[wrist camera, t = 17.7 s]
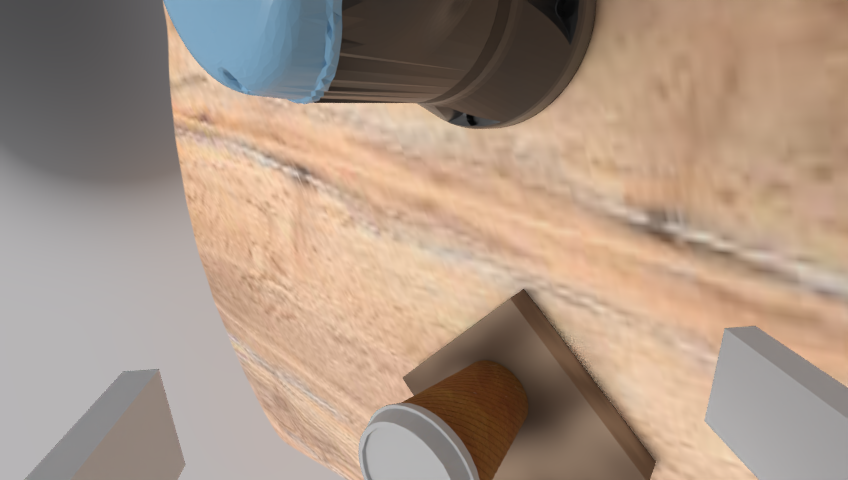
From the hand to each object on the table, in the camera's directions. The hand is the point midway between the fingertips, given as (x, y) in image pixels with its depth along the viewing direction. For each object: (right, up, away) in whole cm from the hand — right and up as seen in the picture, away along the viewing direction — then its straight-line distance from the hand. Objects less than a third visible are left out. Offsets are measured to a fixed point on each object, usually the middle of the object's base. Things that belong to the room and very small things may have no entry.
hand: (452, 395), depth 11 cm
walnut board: (+8, -11, +30) cm, 33 cm away
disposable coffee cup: (+5, -10, +28) cm, 30 cm away
